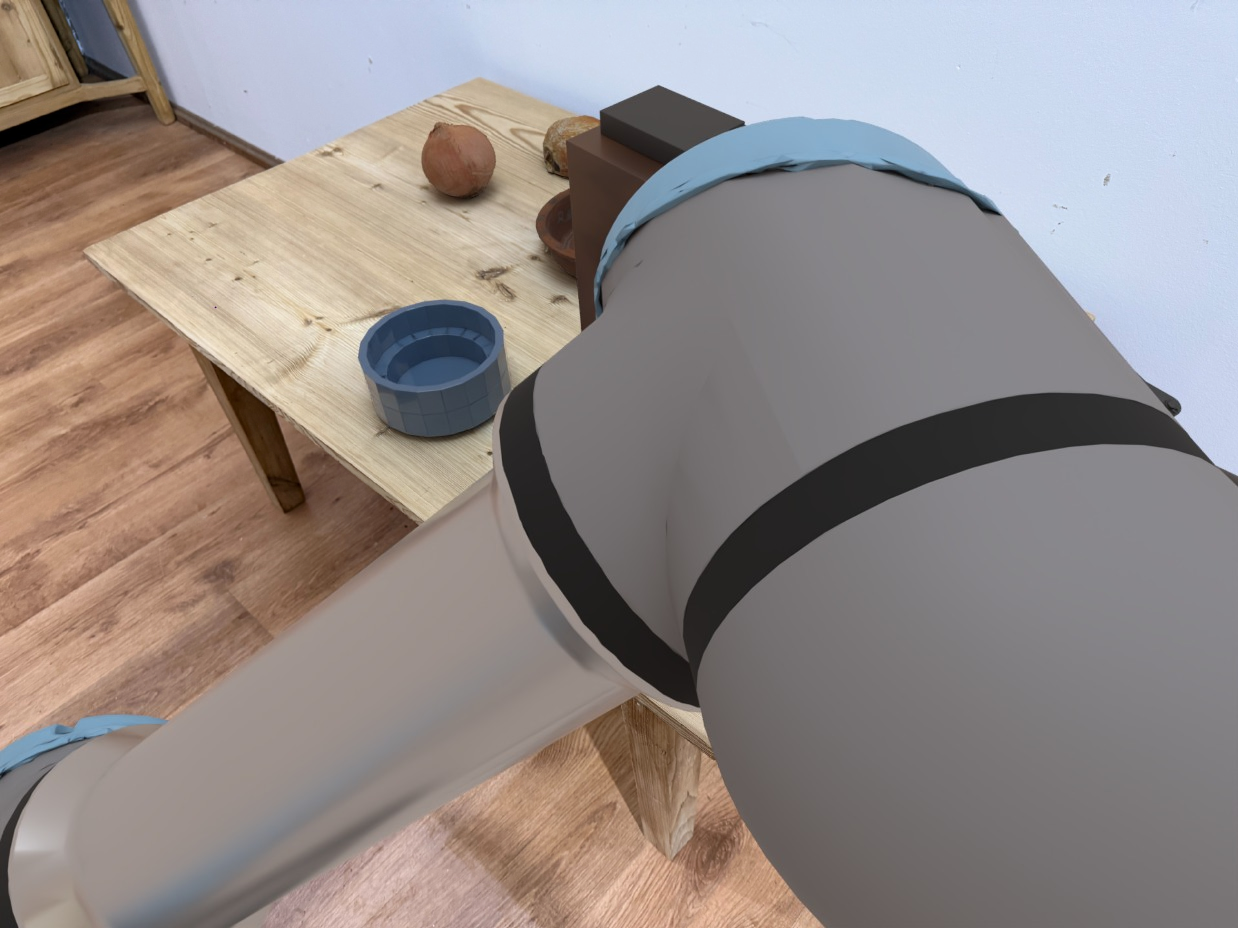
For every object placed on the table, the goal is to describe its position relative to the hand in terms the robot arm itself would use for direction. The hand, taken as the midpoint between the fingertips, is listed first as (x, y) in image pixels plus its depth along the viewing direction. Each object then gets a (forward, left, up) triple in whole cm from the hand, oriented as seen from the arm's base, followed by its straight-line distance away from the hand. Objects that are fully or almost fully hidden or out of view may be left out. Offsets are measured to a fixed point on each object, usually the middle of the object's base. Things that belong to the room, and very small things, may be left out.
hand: (854, 373), depth 47 cm
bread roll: (+36, +67, -26) cm, 81 cm away
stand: (+6, +19, -26) cm, 33 cm away
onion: (+20, +72, -26) cm, 79 cm away
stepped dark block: (+6, +14, +4) cm, 16 cm away
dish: (+24, +47, -26) cm, 59 cm away
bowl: (-4, +41, -26) cm, 49 cm away
